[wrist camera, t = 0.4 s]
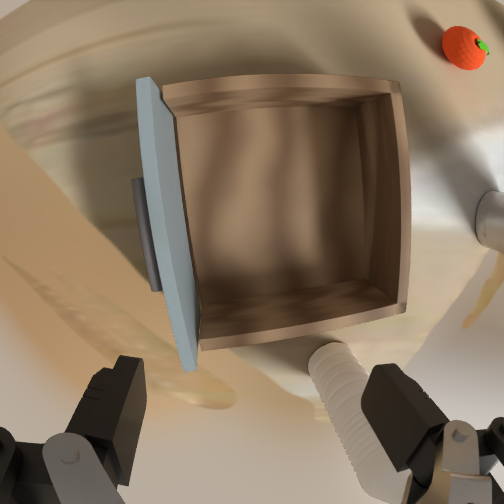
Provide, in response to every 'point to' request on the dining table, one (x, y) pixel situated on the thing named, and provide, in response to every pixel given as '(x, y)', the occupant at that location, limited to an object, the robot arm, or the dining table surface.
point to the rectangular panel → (165, 220)
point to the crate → (294, 202)
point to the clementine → (464, 48)
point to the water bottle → (355, 420)
